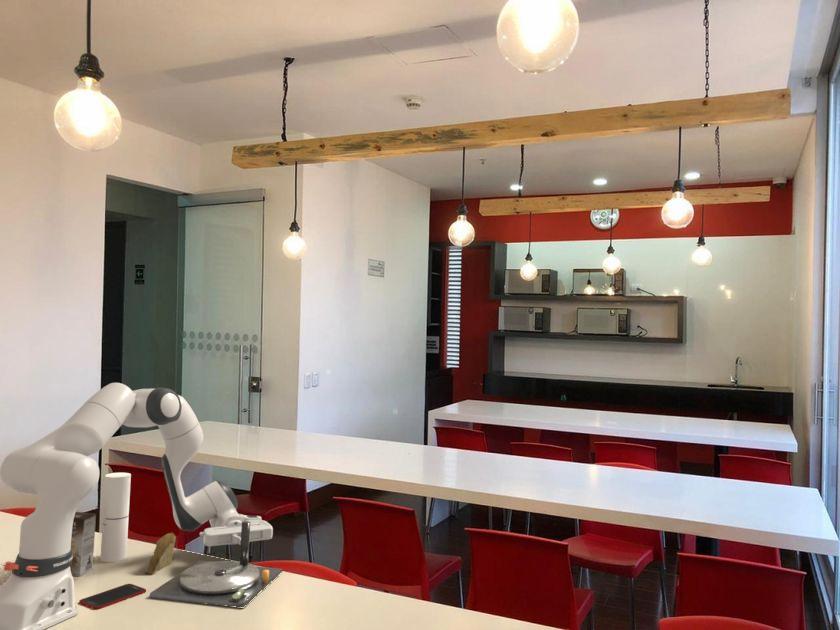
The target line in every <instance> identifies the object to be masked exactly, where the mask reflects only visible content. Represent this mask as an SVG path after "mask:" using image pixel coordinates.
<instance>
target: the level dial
mask: <svg viewBox="0 0 840 630" xmlns="http://www.w3.org/2000/svg"><path fill="white" fill-rule="evenodd" d="M249 540H250V522H249V521H244V522H242V528H241V545H240V554H239V561H238V560H215V561H210V562H207V563H202V564H198V565H195V566H192V565H191V566H192V567H191V566H189V567H190V568H189V567H187V568H188V569H187V568H186V569H185V571H184V570H183V571H181V572H182V573H181V572H180V573H181V575H180V585H181V587H182V588H184V589H186V590H188V591H191V592H195V593H201V594H223V593H231V592H236V591H239V590H240V589H246V588H248V587H251V586H252V585H254V584H255V583H256V582H257V581H258V580H259V569H258V568H257V567H256V566H257V565H254V564H251V563H250V562H249V557H250V544H249Z"/></svg>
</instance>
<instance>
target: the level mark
mask: <svg viewBox="0 0 840 630" xmlns="http://www.w3.org/2000/svg"><path fill="white" fill-rule="evenodd" d="M268 582H269V570H263V571H262V583H268Z"/></svg>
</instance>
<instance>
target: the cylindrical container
mask: <svg viewBox="0 0 840 630" xmlns="http://www.w3.org/2000/svg"><path fill="white" fill-rule="evenodd" d="M131 478H132V474H131V473H129V472H112V473H106V474H105V475H104V492H103V506H102V523H101V524H102V527H101V544H100V546H101V547H100V558H99V559H100V561H101V562H104V563H115V562H120V561H124V560H126V558H127V552H128V538H129V537H128V536H129V535H128V534H129V533H128V532H129V517H130V516H129V515H130V514H129V513H130V497H131V480H132V479H131Z"/></svg>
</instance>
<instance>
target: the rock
mask: <svg viewBox="0 0 840 630" xmlns="http://www.w3.org/2000/svg"><path fill="white" fill-rule="evenodd" d="M176 539H177V537H176V534H175V533H173V532H169V533H166V534H164V535H163V536H161V537H160V538H159V539H158V540H157V541H156V542H155V543H156V545H155V549H154V551H153V555H152V556H151V558H150V560H149V563H148V566H147V568H146V570H145V574H148V575H154V574H156V573H158V572H159V570H160V569H161V570H163V569H162V568H164V567H165V568H167V567H168V566H170V565H171V564H172V563H173V554H174V548H175V543H176ZM166 566H167V567H166ZM165 568H164V569H165ZM161 570H160V571H161ZM157 571H158V572H157Z"/></svg>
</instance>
